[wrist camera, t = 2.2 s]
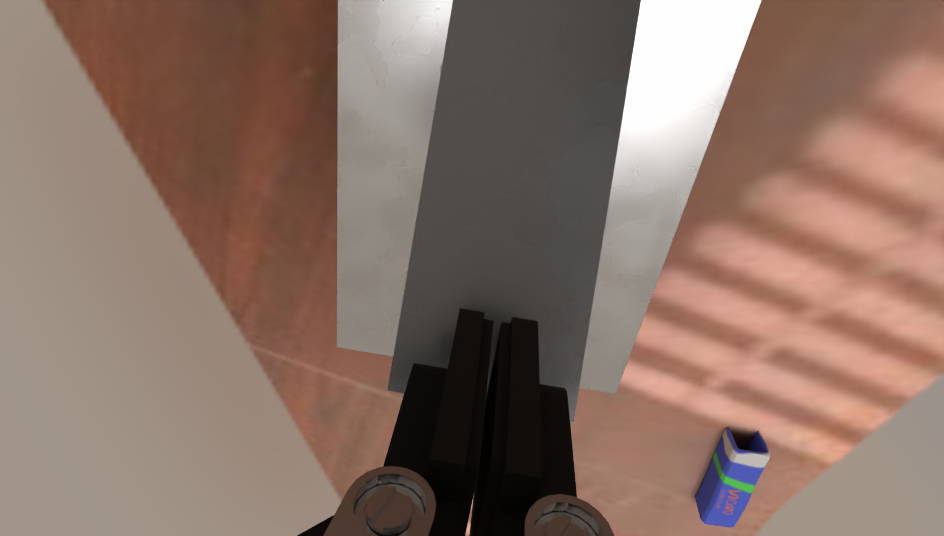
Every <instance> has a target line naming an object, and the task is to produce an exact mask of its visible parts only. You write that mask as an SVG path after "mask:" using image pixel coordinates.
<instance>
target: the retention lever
mask: <svg viewBox="0 0 944 536" xmlns="http://www.w3.org/2000/svg"><path fill="white" fill-rule="evenodd" d="M640 6H641V0H453V3H452V9H451V15H450V21H449V27H448V33H447V39H446V45H445V51H444V57H443V62H442V68H441V74H440V80H439V86H438V92H437V98H436V104H435V110H434V116H433V122H432V128H431V134H430V140H429V146H428V152H427V158H426V164H425V170H424V176H423V182H422V188H421V194H420V200H419V206H418V212H417V218H416V224H415V230H414V235H413V241H412V247H411V253H410V259H409V265H408V271H407V277H406V283H405V289H404V295H403V301H402V307H401V313H400V319H399V325H398V331H397V337H396V343H395V349H394V355H393V361H392V367H391V373H390V379H389V385H388V390H389V391H395V392H401V393H405V390H406V386H407V383H408V379H409V376H410V372H411V369H412V366H413V364H414V363H417V364H423V365H429V366H435V367H441V368H447V369H448V365H449V360H450V355H451V350H452V345H453V340H454V335H455V330H456V325H457V320H458V315H459V310H460V308H462V309H468V310H474V311H480V312H485V314H484V319H487V320H493V321H494V322H493V332H492V343H491V353H490V363H489V374H488V384H487V390H488V385H489V380H490V375H491V370H492V365H493V360H494V355H495V350H496V345H497V340H498V335H499V330H500V325H501V322H505V323H511V319H512V317H517V318H523V319H529V320H535V321H538V339H539V376H540V384H543V385H550V386H556V387H562V388H565V389H566V390H567V395H568V405H569V416H570V421H573V422H574V416H575V410H576V404H577V398H578V391H579V385H580V379H581V373H582V366H583V360H584V354H585V348H586V342H587V335H588V329H589V323H590V317H591V310H592V304H593V298H594V292H595V286H596V279H597V273H598V267H599V261H600V254H601V248H602V242H603V236H604V230H605V223H606V217H607V211H608V205H609V198H610V192H611V186H612V180H613V174H614V167H615V161H616V155H617V149H618V142H619V136H620V130H621V124H622V118H623V111H624V105H625V99H626V93H627V86H628V80H629V74H630V68H631V62H632V55H633V49H634V43H635V37H636V30H637V24H638V18H639V12H640ZM486 395H487V394H486Z"/></svg>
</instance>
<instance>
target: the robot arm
mask: <svg viewBox="0 0 944 536" xmlns="http://www.w3.org/2000/svg"><path fill="white" fill-rule="evenodd" d="M484 314H485V312H480V311H474V310H468V309H462V308H460V310H459V315H458V320H457V325H456V330H455V335H454V340H453V345H452V350H451V355H450V360H449V365H448V369H447V368H441V367H435V366H429V365H423V364H417V363H414V364H413V366H412V369H411V372H410V376H409V379H408V383H407V386H406V390H405V393H404V397H403V400H402V404H401V407H400V411H399V414H398V418H397V421H396V424H395V428H394V431H393V435H392V438H391V442H390V445H389V449H388V452H387V456H386V459H385V463H384V466H383V467H379V468H376V469H373V470H371V471H368V472H366V473H364V474H363V475H362V476H360V477H359V478H358V479H356V480H355V481H354V483H353V484H352V485H351V487H350V488H349V489H348V491H347V492H346V494H345V496H344V498H343V500H342V502H341V504H340V506H339V507H338V509H337V511H336V513H335V515H334V516H332V517H330V518H328V519H326V520H324V521H323V522H321V523H319V524H317V525H315V526H314V527H312V528H310V529H308V530H307V531H305V532H303V533H301V534H299V535H298V536H465V533H466V528H467V523H468V519H469V514H470V509H471V504H472V500H473V508H472V517H471V527H470V536H614V534H613V532H612V530H611V528H610V525H609V523H608V522H607V521H606V519H605V518H604V517H603V516H602V514H601V513H600V512H599V511H598V510H597V509H595V508H594V507H593V506H591V505H590V504H589V503H588V502H586V501H583V500H581V499H579V498H577V494H576V483H575V472H574V461H573V450H572V438H571V427H570V416H569V405H568V395H567V390H566V389H565V388H562V387H556V386H550V385H543V384H540V376H539V339H538V321H535V320H529V319H523V318H517V317H512V319H511V323H505V322H501V325H500V330H499V335H498V340H497V345H496V350H495V355H494V360H493V365H492V370H491V375H490V380H489V385H488V390H487V384H488V374H489V363H490V353H491V343H492V332H493V322H494V321H493V320H487V319H484ZM486 394H487V395H486ZM473 495H474V498H473Z"/></svg>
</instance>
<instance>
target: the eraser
mask: <svg viewBox="0 0 944 536" xmlns="http://www.w3.org/2000/svg"><path fill="white" fill-rule="evenodd" d="M770 454H771V453H770V450H769V448H768V447H767V445H766V443H765V441H764V439H763V437H762V436H761V434H760V433H759V432H758V431H757V433H756V434H755V436H754V438H753V440H752V442H751V444H750V446H749V448H748V450H741V449H738V447H737V445H736V443H735V441H734V438H733V436H732V433H731V431H730V429H729V427H728V428H726V429H725V431H724V433H723V435H722V437H721V439H720V441H719V444H718V446H717V448H716V450H715V453H714V455H713V458H712V460H711V463H710V466H709V468H708V471H707V474H706V476H705V479H704V481H703V483H702V485H701V487H700V489H699V491H698V493H697V495H696V503H697V507H698V511H699V515H700V518H701V520H702V521H703V522H704V523H705V524H710V525H717V526H724V527H734V526H735V524H736V522H737V521H738V519H739V517H740V516H741V514H742V513H743V511H744V509H745V507H746V505H747V503H748V501H749V499H750V496H751V494H752V492H753V490H754V487H755V485H756V483H757V481H758V479H759V477H760V475H761V473H762V471H763V469H764V467H765V466H766V464H767V462H768V460H769V458H770Z"/></svg>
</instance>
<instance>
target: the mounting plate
mask: <svg viewBox="0 0 944 536" xmlns="http://www.w3.org/2000/svg"><path fill="white" fill-rule="evenodd" d="M452 3H453V0H338V161H337V347H340V348H346V349H352V350H358V351H364V352H370V353H376V354H382V355H387V356H393V355H394V349H395V343H396V337H397V331H398V325H399V319H400V313H401V307H402V301H403V295H404V289H405V283H406V277H407V271H408V265H409V259H410V253H411V247H412V241H413V235H414V230H415V224H416V218H417V212H418V206H419V200H420V194H421V188H422V182H423V176H424V170H425V164H426V158H427V152H428V146H429V140H430V134H431V128H432V122H433V116H434V110H435V104H436V98H437V92H438V86H439V80H440V74H441V68H442V62H443V57H444V51H445V45H446V39H447V33H448V27H449V21H450V15H451V9H452ZM760 3H761V0H641V6H640V12H639V18H638V24H637V30H636V37H635V43H634V49H633V55H632V62H631V68H630V74H629V80H628V86H627V93H626V99H625V105H624V111H623V118H622V124H621V130H620V136H619V142H618V149H617V155H616V161H615V167H614V174H613V180H612V186H611V192H610V198H609V205H608V211H607V217H606V223H605V230H604V236H603V242H602V248H601V254H600V261H599V267H598V273H597V279H596V286H595V292H594V298H593V304H592V310H591V317H590V323H589V329H588V335H587V342H586V348H585V354H584V360H583V366H582V373H581V379H580V385H579V388H584V389H590V390H596V391H602V392H608V393H614V394H616V391H617V389H618V386H619V383H620V380H621V378H622V375H623V372H624V370H625V367H626V364H627V362H628V359H629V356H630V354H631V351H632V348H633V345H634V343H635V340H636V337H637V335H638V332H639V329H640V327H641V324H642V321H643V318H644V316H645V313H646V310H647V308H648V305H649V302H650V300H651V297H652V294H653V291H654V289H655V286H656V283H657V281H658V278H659V275H660V273H661V270H662V267H663V264H664V262H665V259H666V256H667V254H668V251H669V248H670V246H671V243H672V240H673V237H674V235H675V232H676V229H677V227H678V224H679V221H680V219H681V216H682V213H683V210H684V208H685V205H686V202H687V200H688V197H689V194H690V192H691V189H692V186H693V184H694V181H695V178H696V175H697V173H698V170H699V167H700V165H701V162H702V159H703V157H704V154H705V151H706V148H707V146H708V143H709V140H710V138H711V135H712V132H713V130H714V127H715V124H716V121H717V119H718V116H719V113H720V111H721V108H722V105H723V103H724V100H725V97H726V94H727V92H728V89H729V86H730V84H731V81H732V78H733V76H734V73H735V70H736V67H737V65H738V62H739V59H740V57H741V54H742V51H743V49H744V46H745V43H746V40H747V38H748V35H749V32H750V30H751V27H752V24H753V22H754V19H755V16H756V14H757V11H758V8H759V5H760Z"/></svg>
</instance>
